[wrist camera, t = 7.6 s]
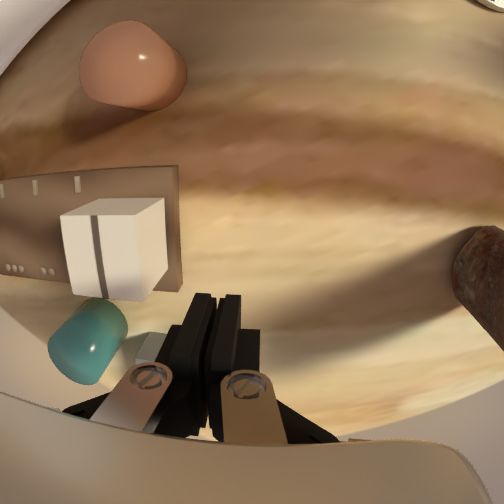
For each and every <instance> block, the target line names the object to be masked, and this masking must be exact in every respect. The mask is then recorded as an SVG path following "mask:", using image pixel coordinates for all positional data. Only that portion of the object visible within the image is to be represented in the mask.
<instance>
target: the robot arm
mask: <svg viewBox="0 0 504 504" xmlns="http://www.w3.org/2000/svg"><path fill="white" fill-rule="evenodd" d="M477 1H478V2H480V3H481V4H483V5H485V6H487V7H489V8H491V9H494V10H496V11H499V12H504V0H477ZM259 357H260V330H257V329H241V295H229V294H226V297H225V298H220V300H219V304H218V308H217V301H216V298H212V297H211V294H208V293H196V294H195V296H194V298H193V300H192V303H191V305H190V307H189V309H188V312H187V314H186V316H185V319H184V321H183V323H182V325H172V326H171V327H170V329H169V331H168V333H167V336H166V338H165V340H164V342H163V344H162V346H161V348H160V350H159V353H158V355H157V357H156V359H155V361H154V362H144V363H140V364H137V365H135V366H133V367H132V368H130V369H129V370H128V371H127V372H126V374H125V375H124V376H123V377H122V379H121V380H120V381H119V383H118V384H117V385H116V386H115V388H114V389H113V390H112V391H111V392H109V393H106V394H104V395H101V396H98V397H95V398H93V399H90V400H87V401H85V402H82V403H79V404H76V405H73V406H70V407H68V408H66V409H64V410H63V411H62V412H61V411H60V410H59V408H49V407H45V406H41V405H39V404H36V403H33V402H30V401H27V400H23V399H21V398H18V397H15V396H12V395H9V394H6V393H3V392H0V504H494V503H493V501H492V499H491V496H490V494H489V492H488V490H487V488H486V486H485V484H484V483H483V481H482V479H481V477H480V476H479V474H478V473H477V471H476V469H475V468H474V467H473V465H472V464H471V462H470V461H469V460H468V459H467V458H466V457H465V456H464V455H463V454H462V453H461V452H459V451H458V450H457V449H455V448H453V447H450V446H447V445H444V444H440V443H436V442H430V441H422V440H406V439H390V440H362V439H350V438H349V439H348V441H347V442H343V441H339V440H338V439H337V438H336V437H335V436H334V435H332V434H331V433H329V432H328V431H326V430H324V429H323V428H321V427H319V426H318V425H316V424H314V423H313V422H311V421H310V420H308V419H306V418H305V417H303V416H302V415H300V414H298V413H297V412H295V411H294V410H292V409H291V408H289V407H288V406H286V405H284V404H283V403H281V402H280V401H278V400H277V399H276V396H275V393H274V389H273V385H272V383H271V381H270V379H269V378H268V377H267V376H266V375H264V374H262V373H260V372H259ZM208 416H209V426H210V428H212V433H213V437H214V438H216V439H217V440H218V441H219V442H217V441H206V440H197V439H188V438H186V437H188V436H190V435H193V436H198V434H199V429H200V427H201V428H205V427H206V423H207V417H208Z"/></svg>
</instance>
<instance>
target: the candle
mask: <svg viewBox="0 0 504 504" xmlns="http://www.w3.org/2000/svg"><path fill="white" fill-rule="evenodd" d="M452 283H453V289H454V293H455V296H456V298H457V299H458V300H459V301H460V302H461V303H462V305H463V306H464V307H465V308H466V309H467V310H468V311H469V312H470V313H471V315H472V316H473V317H474V318H475V319H476V320H477V321H478V322H479V324H480V325H481V326H482V327H483V328H484V329H485V330H486V331H487V332H488V333H489V335H490V336H491V337H492V338H493V339H494V340H495V342H496V343H497V344H498V345H499V346H500V348H501V349H502V350H503V351H504V230H502V229H500V228H498V227H496V226H484V227H482V228H481V229H479V230H477V231H476V232H475V233H474V234H473V236H472V238H471V239H470V240H469V241H468V242H467V243H466V244H465V246H464V247H463V248H462V250H461V251H460V252H459V254H458V255H457V257H456V259H455V261H454V264H453V270H452Z"/></svg>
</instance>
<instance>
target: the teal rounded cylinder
mask: <svg viewBox="0 0 504 504" xmlns="http://www.w3.org/2000/svg"><path fill="white" fill-rule="evenodd" d="M127 333H128V325H127V321H126V319H125V317H124V315H123V314H122V312H121V311H120V310H119V309H118V308H117V307H116V306H115V305H114V304H113V303H111V302H109V301H108V300H105V299H102V298H90V299H88V300H87V301H85V302H84V303H83V304H82V305H81V306H80V307H79V308H78V309H77V310H76V312H75V313H74V314H73V315H72V316H71V317H70V318H69V319H68V320H67V321H66V322H65V323H64V324H63V325H62V326H61V327H60V328H59V329H58V330H57V331H56V332H55V333H54V335H53V336H52V337H51V338H50V339H49V341H48V352H49V355H50V358H51V359H52V361H53V363H54V364H55V366H56V367H57V368H58V370H59V371H61V373H63V374H64V375H65V376H66V377H68V378H69V379H71V380H72V381H74V382H77V383H79V384H83V385H92V384H95V383H97V382H98V381H99V379H100V377H101V376H102V374H103V373H104V371H105V369H106V368H107V366H108V365H109V363H110V361H111V360H112V358H113V357H114V355H115V354H116V352H117V350H118V349H119V347H120V346H121V344H122V343H123V341H124V340H125V338H126V336H127Z"/></svg>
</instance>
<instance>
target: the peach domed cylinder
mask: <svg viewBox="0 0 504 504" xmlns="http://www.w3.org/2000/svg"><path fill="white" fill-rule="evenodd" d="M79 78H80V83H81V85H82V88H83V89H84V91H85V92H86V94H87V95H88V96H89V97H90V98H92V99H94V100H95V101H98V102H101V103H106V104H112V105H117V106H122V107H128V108H133V109H138V110H142V111H156V110H160V109H162V108H165V107H167V106H168V105H170V104H171V103H173V102H174V101H175V100H176V99H177V98H178V97H179V95H180V94H181V92H182V91H183V89H184V86H185V84H186V80H187V68H186V64H185V62H184V60H183V58H182V57H181V56H180V55H179V54H178V53H177V52H176V51H175V50H174V49H173V48H172V47H171V46H170V45H169V44H167V43H166V42H165V41H164V40H163V39H162V38H161V37H160V36H159V35H157V34H156V33H155V32H154V31H153V30H152V29H151V28H149V27H148V26H147V25H145V24H143V23H141V22H138V21H132V20H127V21H120V22H116V23H114V24H111V25H109V26H107V27H106V28H104V29H103V30H101V31H100V32H99V33H98V34H96V35H95V36H94V37H93V38H92V40H91V41H90V42H89V44H88V45H87V47H86V48H85V50H84V52H83V55H82V57H81V61H80V66H79Z"/></svg>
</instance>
